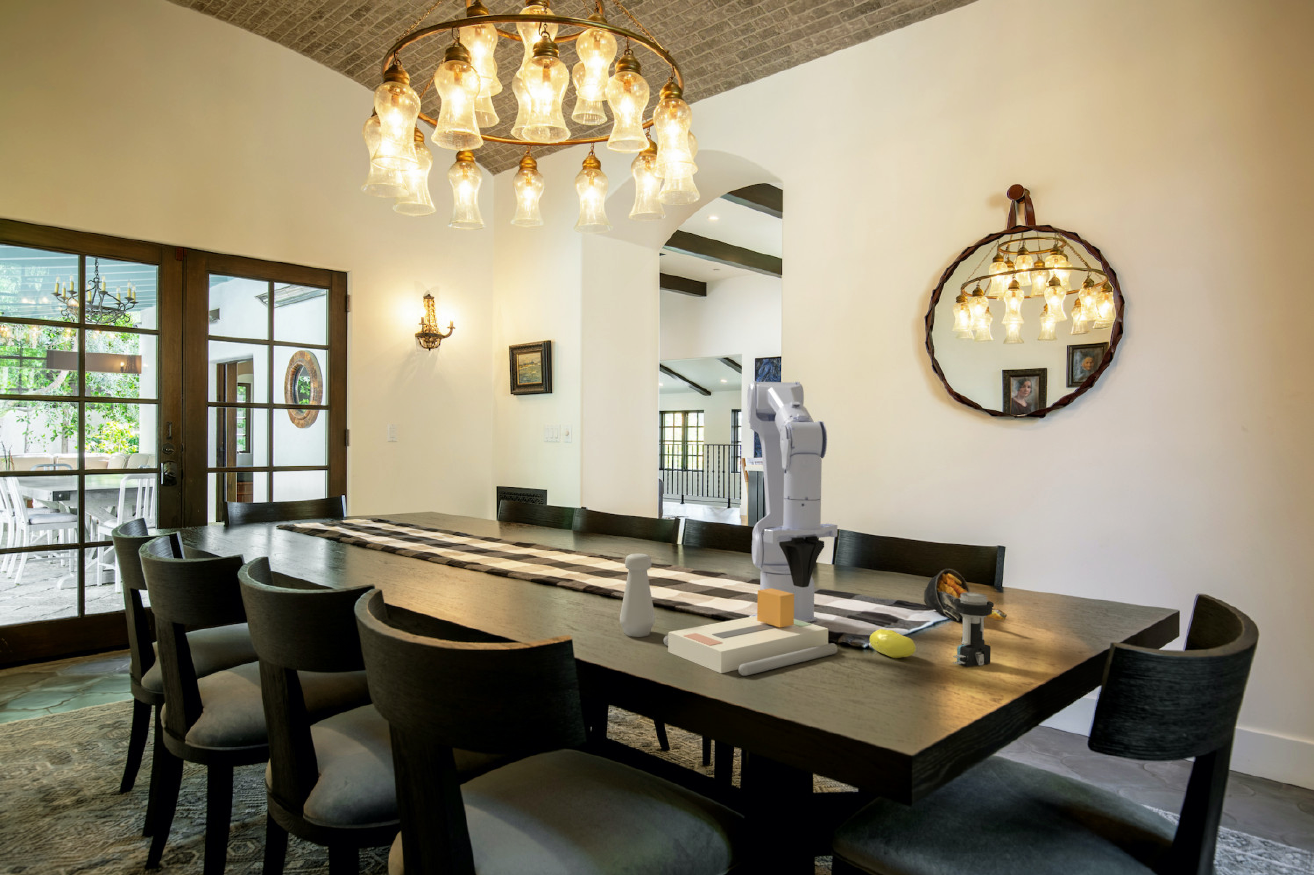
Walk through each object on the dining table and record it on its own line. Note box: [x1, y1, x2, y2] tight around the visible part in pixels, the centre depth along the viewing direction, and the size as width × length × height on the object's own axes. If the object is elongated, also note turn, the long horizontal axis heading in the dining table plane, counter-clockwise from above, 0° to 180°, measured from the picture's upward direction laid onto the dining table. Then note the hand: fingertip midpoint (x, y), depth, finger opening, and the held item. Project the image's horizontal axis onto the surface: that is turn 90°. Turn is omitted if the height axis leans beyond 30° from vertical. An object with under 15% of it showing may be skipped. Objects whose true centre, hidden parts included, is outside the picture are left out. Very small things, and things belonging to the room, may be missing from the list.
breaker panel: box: [667, 616, 829, 674], centre depth 113 cm, size 22×12×3 cm, turn 126°
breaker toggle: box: [756, 588, 794, 627], centre depth 116 cm, size 3×5×5 cm, turn 36°
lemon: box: [869, 628, 917, 659], centre depth 111 cm, size 4×8×4 cm, turn 28°
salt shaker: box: [619, 552, 656, 638], centre depth 122 cm, size 6×6×13 cm
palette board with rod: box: [663, 635, 838, 677], centre depth 113 cm, size 20×19×2 cm
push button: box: [952, 591, 995, 668], centre depth 108 cm, size 7×5×10 cm
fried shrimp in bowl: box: [923, 568, 1008, 622], centre depth 134 cm, size 9×11×18 cm
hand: (800, 586), depth 116 cm, fingers closed
